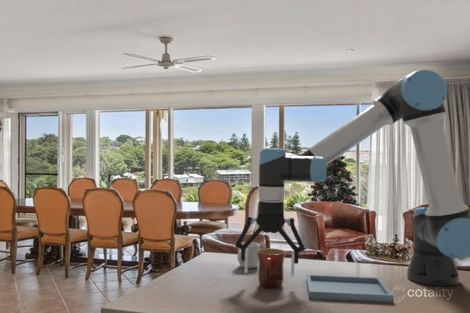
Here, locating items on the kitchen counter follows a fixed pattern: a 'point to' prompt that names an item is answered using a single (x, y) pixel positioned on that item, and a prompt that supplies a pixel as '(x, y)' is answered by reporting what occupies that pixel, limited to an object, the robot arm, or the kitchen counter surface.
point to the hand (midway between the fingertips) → (269, 273)
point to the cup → (250, 255)
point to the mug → (270, 267)
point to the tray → (348, 288)
